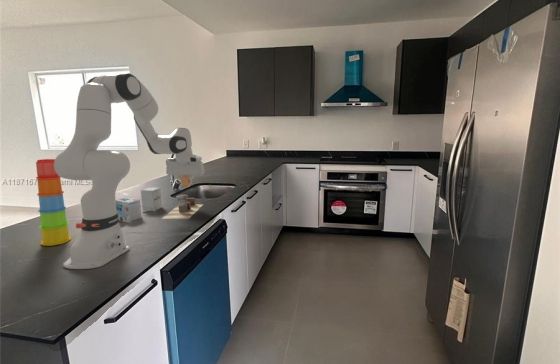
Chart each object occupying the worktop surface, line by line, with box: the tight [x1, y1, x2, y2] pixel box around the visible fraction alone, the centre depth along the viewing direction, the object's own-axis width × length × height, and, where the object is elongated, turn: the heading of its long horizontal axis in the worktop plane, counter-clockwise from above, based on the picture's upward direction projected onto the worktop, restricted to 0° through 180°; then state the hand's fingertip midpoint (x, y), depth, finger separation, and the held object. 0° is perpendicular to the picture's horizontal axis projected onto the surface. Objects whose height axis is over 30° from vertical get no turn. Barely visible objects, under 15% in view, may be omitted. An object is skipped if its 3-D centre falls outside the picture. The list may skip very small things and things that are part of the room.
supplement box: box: [140, 187, 163, 214], centre depth 165 cm, size 7×7×13 cm
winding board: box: [161, 194, 205, 220], centre depth 161 cm, size 26×14×10 cm, turn 178°
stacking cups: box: [35, 158, 72, 247], centre depth 122 cm, size 10×10×35 cm
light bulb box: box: [115, 196, 143, 224], centre depth 151 cm, size 11×7×11 cm, turn 62°
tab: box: [181, 175, 192, 188], centre depth 165 cm, size 5×3×6 cm, turn 178°
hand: (186, 183), depth 165 cm, fingers closed on tab, 3 cm apart
